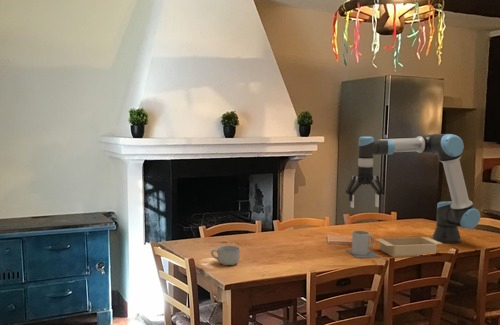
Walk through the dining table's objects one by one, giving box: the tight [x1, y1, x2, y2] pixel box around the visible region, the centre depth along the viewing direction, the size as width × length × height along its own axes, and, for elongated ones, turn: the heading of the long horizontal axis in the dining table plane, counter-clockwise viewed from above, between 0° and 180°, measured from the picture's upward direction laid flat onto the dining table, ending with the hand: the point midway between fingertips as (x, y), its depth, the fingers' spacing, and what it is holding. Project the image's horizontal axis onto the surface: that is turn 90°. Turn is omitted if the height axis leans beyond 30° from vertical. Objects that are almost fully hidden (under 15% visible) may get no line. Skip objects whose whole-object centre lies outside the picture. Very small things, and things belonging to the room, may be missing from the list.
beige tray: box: [374, 236, 444, 258], centre depth 252 cm, size 31×17×6 cm, turn 100°
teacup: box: [210, 244, 241, 266], centre depth 228 cm, size 14×11×8 cm
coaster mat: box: [346, 249, 380, 259], centre depth 248 cm, size 12×15×1 cm
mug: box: [351, 230, 374, 255], centre depth 248 cm, size 12×8×11 cm
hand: (364, 207), depth 247 cm, fingers open, 13 cm apart
